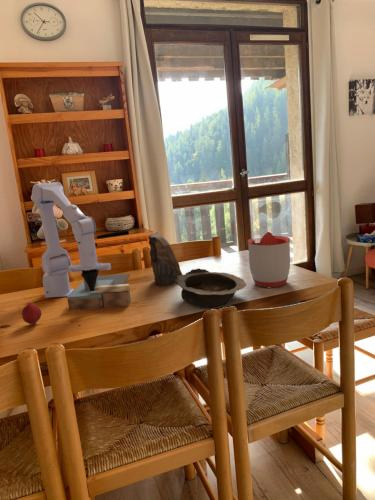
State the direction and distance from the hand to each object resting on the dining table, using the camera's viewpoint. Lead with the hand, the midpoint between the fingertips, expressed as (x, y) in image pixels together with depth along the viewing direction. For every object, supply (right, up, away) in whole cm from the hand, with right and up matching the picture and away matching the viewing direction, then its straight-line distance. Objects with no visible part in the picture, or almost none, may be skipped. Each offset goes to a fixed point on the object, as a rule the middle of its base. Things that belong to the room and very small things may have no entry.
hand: (92, 290), depth 139 cm
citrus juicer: (+65, +2, +11) cm, 66 cm away
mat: (0, 0, +29) cm, 29 cm away
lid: (-2, -1, +6) cm, 7 cm away
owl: (+25, +1, +23) cm, 34 cm away
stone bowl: (+42, -3, -2) cm, 42 cm away
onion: (-17, -10, -11) cm, 22 cm away
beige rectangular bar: (+7, 0, 0) cm, 7 cm away
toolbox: (+3, -4, +7) cm, 9 cm away
